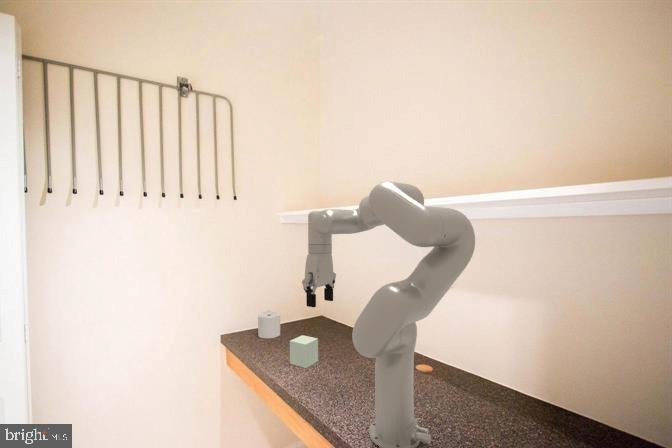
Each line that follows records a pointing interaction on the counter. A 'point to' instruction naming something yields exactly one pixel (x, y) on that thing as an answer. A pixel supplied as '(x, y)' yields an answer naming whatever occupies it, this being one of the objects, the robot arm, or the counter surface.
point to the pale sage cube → (304, 351)
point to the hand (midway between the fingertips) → (320, 303)
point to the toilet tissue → (269, 324)
